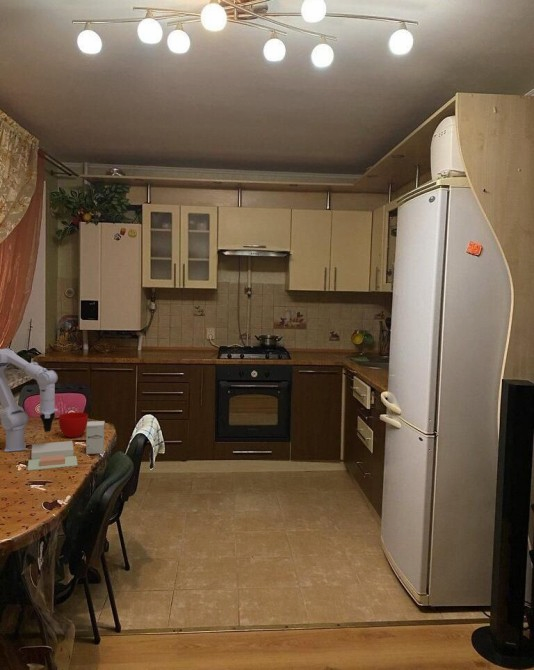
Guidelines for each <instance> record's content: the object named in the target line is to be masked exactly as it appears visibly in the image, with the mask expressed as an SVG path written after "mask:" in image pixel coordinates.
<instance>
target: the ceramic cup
mask: <svg viewBox="0 0 534 670" xmlns="http://www.w3.org/2000/svg"><path fill="white" fill-rule="evenodd" d="M88 415H89V414H87V413H86V412H80V411H78V412H77V411H76V412H75V411H74V412H73V411H72V412H65V413H62V414H59V416H58V425H59V430H60V431H61V433H62V434H63V435H64V436H65V437H66V438H67V437H76V438H79V437H78V436H80V437H81V436H82V435H83V433H85V430H86V427H87V422H88V420H89V419H88V418H89V417H88Z"/></svg>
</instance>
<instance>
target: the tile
mask: <svg viewBox="0 0 534 670" xmlns="http://www.w3.org/2000/svg"><path fill="white" fill-rule="evenodd" d="M61 464H65V455H55V456H44V457H41V460H40V466H51V465H61Z"/></svg>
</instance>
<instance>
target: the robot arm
mask: <svg viewBox="0 0 534 670" xmlns="http://www.w3.org/2000/svg"><path fill="white" fill-rule="evenodd" d="M9 364H11V365H12V366H13V365H14V366H15V367H17V368H20V369H21V370H23V371H24V373H25V375H27V376H29V377H31V378H32V379H33V380H36V383H37V385H38V389H39V413H40V414H39V415H40V416H39V418H40V419H41V422H42V424H43V430H44V432H45V433H46V432H51V430H52V425H53V421H54V418H55V416H56V412H59V411H58V410H59V409H58V408H56V404H55V403H56V399H55V398H56V397H55V395H56V394H55V392H56V391H55V388H56V385H55V384H56V383H57V381H58V379H59V377H58V374H57V372H56V371H55V370H53V369H50V370H48V369H47V368H45V367H43V366H41V365H39V363H38V362H33V361H32V362H28V361H27V360H25V359H24V358H23V357H20V356H19V355H18V354H17V353H15V351H14V350H12V349H11V348H9V347H4V348H0V405H1V407H2V411H1V413H0V419H1V422H0V423H1V426H2V428H3V429H4V431H5V447H4V450H3V451H4V453H6V452H7V453H8V452H9V453H10V452H19V451H25V450H26V447H27V443H26V442H25V428H26V425H27V424H28V422H29V416H28V414H27V413H26V412H25V410H24V408H23V407H22V406H20V405H18V404H17V402H16V400H15V397H14V395H13V392H12V390H11V387H10V386H9V383H8V380H7V378H6V375H5V373H4V372H5V369H6V368H7V367H8V366H9Z"/></svg>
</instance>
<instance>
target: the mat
mask: <svg viewBox="0 0 534 670" xmlns="http://www.w3.org/2000/svg"><path fill="white" fill-rule="evenodd" d="M40 460H41V459H36V460H32V459H28V463H27V471H26V472H29V471H39V470H40V471H41V470H51V469H61V467H62V468H69V467H70V466H71V467H78V459H77V455H74V456H69V457H65V464H61V465H51V466H40Z"/></svg>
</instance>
